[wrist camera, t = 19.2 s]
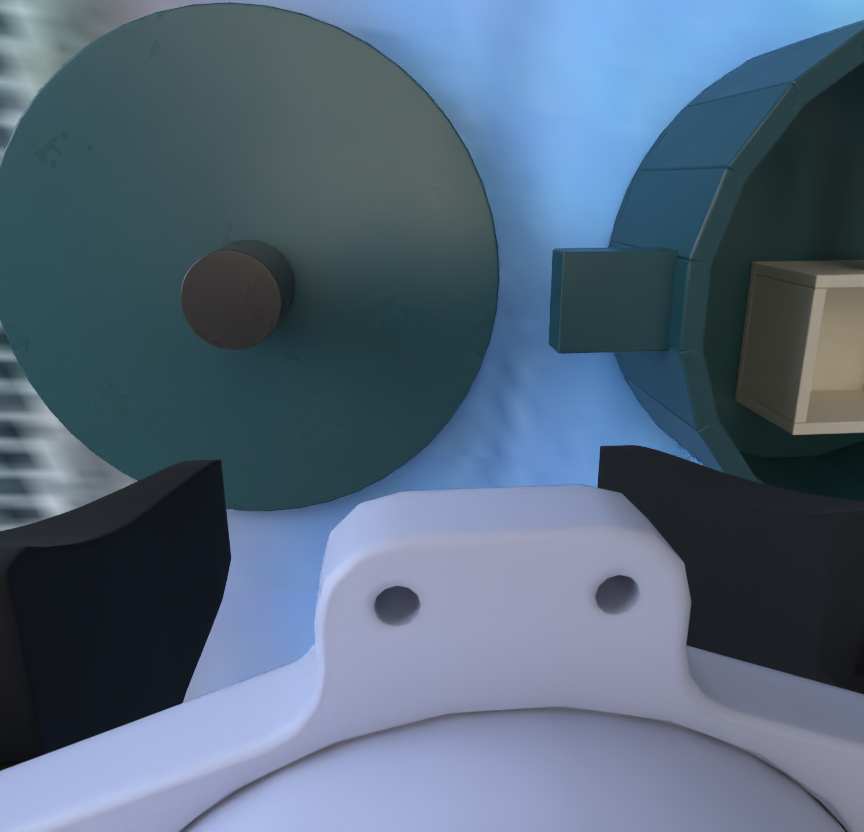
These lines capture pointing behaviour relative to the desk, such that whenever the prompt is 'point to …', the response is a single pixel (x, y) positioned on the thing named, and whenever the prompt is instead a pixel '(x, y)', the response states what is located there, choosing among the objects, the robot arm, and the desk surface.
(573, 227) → the desk surface
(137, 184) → the pot lid
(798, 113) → the pot
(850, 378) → the scoop
